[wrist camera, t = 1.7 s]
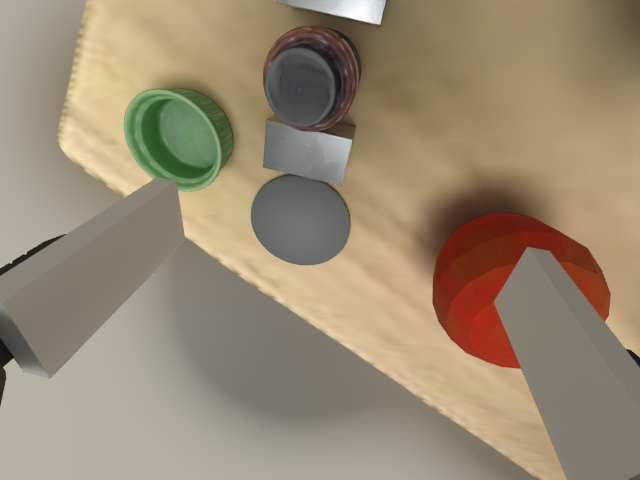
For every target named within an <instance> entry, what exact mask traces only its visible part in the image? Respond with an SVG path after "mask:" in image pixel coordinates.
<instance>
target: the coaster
mask: <svg viewBox="0 0 640 480" xmlns="http://www.w3.org/2000/svg"><path fill="white" fill-rule="evenodd" d="M251 222H252V227H253V230H254V232H255V235H256V236H257V238H258V240H259V241H260V242H261V244H262V245H263V246H264V247H265V248H266V249H267V250H268V251H269V252H270V253H272V254H273V255H275V256H276V257H278V258H280V259H282V260H284V261H286V262H289V263H293V264H298V265H315V264H320V263H323V262H326V261H328V260H330V259H332V258H333V257H335V256H336V255H337V254H338V253H339V252H340V251H341V250H342V249H343V247H344V246H345V244H346V242H347V240H348V237H349V232H350V214H349V211H348V208H347V206H346V203H345V202H344V200H343V198H342V197H341V196H340V194H339V193H338V192H337V191H336V190H335V189H334V188H332V187H331V186H330V185H329V184H327V183H325V182H323V181H319V180H315V179H310V178H306V177H302V176H298V175H294V174H291V175H285V176H281V177H278V178H276V179H274V180H272V181H270V182H269V183H268V184H266V185H265V186H264V187H263V188H262V189H261V191H260V192H259V193H258V195H257V196H256V198H255V200H254V202H253V205H252V209H251Z"/></svg>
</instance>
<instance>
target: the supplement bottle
mask: <svg viewBox="0 0 640 480" xmlns="http://www.w3.org/2000/svg"><path fill="white" fill-rule="evenodd" d="M360 75H361V65H360V60H359V55H358V53H357V51H356V49H355V47H354V45H353V44H352V43H351V41H350V40H349V39H348V38H347V37H345V36H344V35H343V34H341V33H340V32H338V31H335V30H332V29H327V28H322V27H316V26H304V27H298V28H296V29H293V30H291V31H289V32H287V33H286V34H284V35H283V36H281V37H280V38H279V39H278V40H277V41H276V43H275V44H274V45H273V46H272V48H271V50H270V51H269V53H268V56H267V58H266V61H265V65H264V71H263V85H264V91H265V95H266V98H267V100H268V102H269V105H270V107H271V108H272V110H273V112H274V113H275V114H276V115H277V116H278V118H279V119H281V120H282V121H283V122H284V123H285V124H287V125H288V126H290V127H292V128H294V129H296V130H300V131H303V132H317V131H322V130H325V129H328V128H330V127H332V126H333V125H335V124H336V123H337V122H338V121H340V120H341V118H342V117H343V116H344V115H345V114H346V113H347V111H348V109H349V108H350V106H351V104H352V102H353V99H354V96H355V93H356V90H357V87H358V85H359V80H360Z"/></svg>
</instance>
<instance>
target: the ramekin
mask: <svg viewBox="0 0 640 480" xmlns="http://www.w3.org/2000/svg"><path fill="white" fill-rule="evenodd" d="M124 133H125V138H126V141H127V144H128V147H129V149H130V151H131V153H132V155H133V157H134V158H135V160H136V161H137V163H138V164H139V165H140V167H141V168H142V169H143V170H144V171H145V172H146V173H147V174H148V175H149V176H150V177H152V178H153V179H155V178H157V177H159V178H164V179H170V180H175V181H176V182H177V189H178V191H184V192H191V191H197V190H200V189H203V188H205V187H206V186H208V185H209V184H210V183H212V182H213V181H214V179H215V178H216V177H217V175H218V173H219V171H220V170H221V169H222V167H223V166H224V165H225V164H226V162H227V161H228V159H229V157H230V155H231V152H232V148H233V136H232V131H231V127H230V124H229V122H228V119H227V118H226V116H225V114H224V113H223V111H222V110H221V109H220V108H219V107H218V105H217V104H216V103H215V102H213V101H212V100H211V99H210V98H208V97H207V96H205V95H203V94H201V93H199V92H196V91H192V90H186V89H179V90H168V89H152V90H147V91H144V92H142V93H140V94H139V95H137V96H136V97H135V98H134V99H133V100H132V101H131V103H130V104H129V106H128V108H127V110H126V113H125V118H124Z"/></svg>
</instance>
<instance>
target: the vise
mask: <svg viewBox="0 0 640 480" xmlns="http://www.w3.org/2000/svg"><path fill="white" fill-rule="evenodd" d="M276 2H277V3H280V4H283V5H286V6H289V7H292V8H296V9H301V10H306V11H310V12H315V13H319V14H324V15H329V16H333V17H338V18H342V19H347V20H351V21H356V22H361V23H365V24H370V25H374V26H379V27H380V24H381V20H382V16H383V11H384V7H385V3H386V0H276ZM355 129H356V126H352V125H348V124H343V123H339V122H337V123H336V124H335V125H333V126H332V127H330V128H328V129H325V130H322V131H317V132H303V131H300V130H296V129H294V128H292V127H290V126H288V125H287V124H285V123H284V122H283V121H282V120H281V119H279V118H278V116H277V115H276V114H274V115H273V116H272V117H270V118H269V119H268V120H267V124H266V137H265V149H264V162H263V167H264V168H268V169H272V170H277V171H281V172H285V173H289V174H294V175H298V176H302V177H306V178H310V179H315V180H319V181H323V182H327V183H332V184H336V185H340V186H342V182H343V178H344V174H345V170H346V166H347V162H348V158H349V154H350V149H351V145H352V141H353V137H354V133H355Z"/></svg>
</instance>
